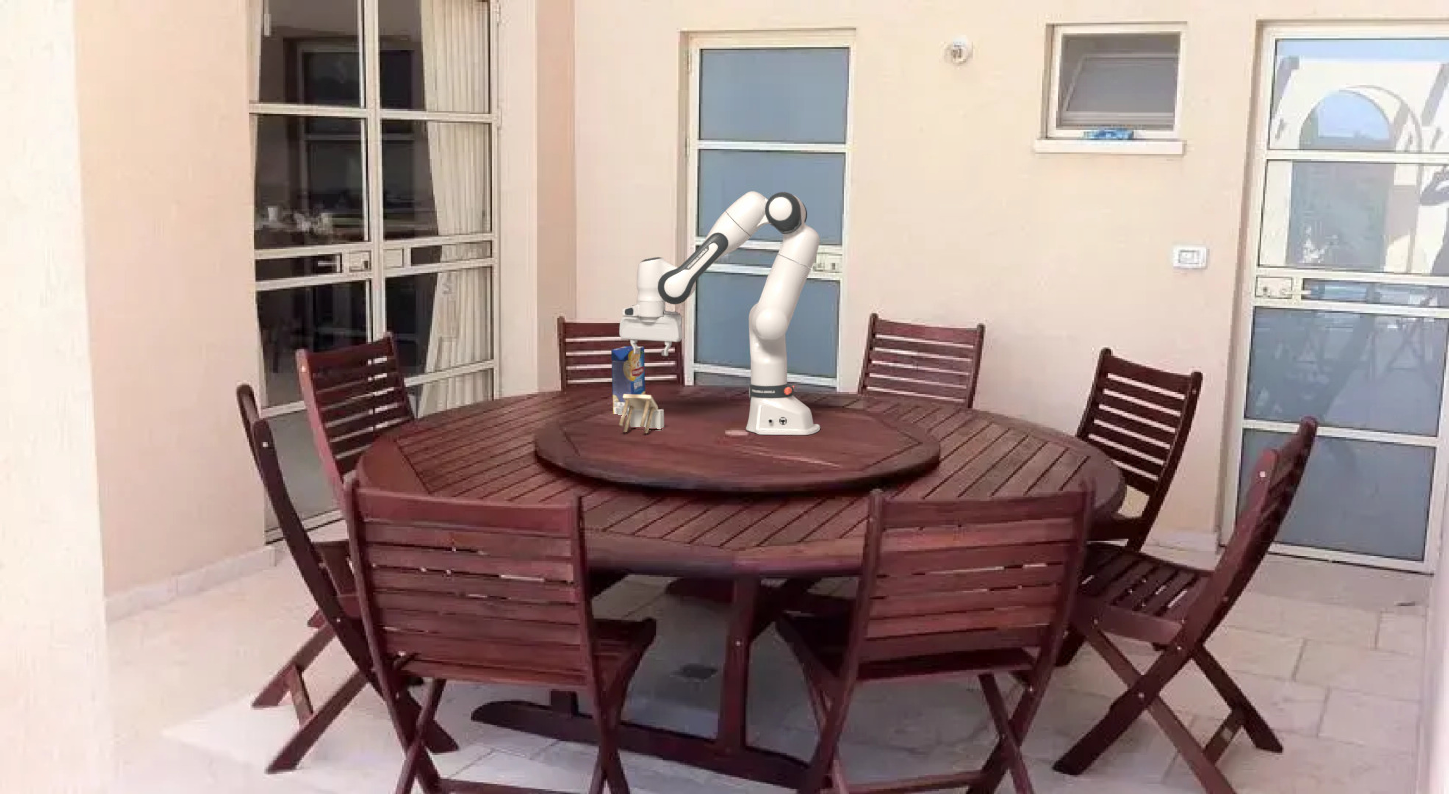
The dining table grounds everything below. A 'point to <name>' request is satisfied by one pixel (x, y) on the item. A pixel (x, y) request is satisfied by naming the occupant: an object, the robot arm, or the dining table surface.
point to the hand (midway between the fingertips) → (650, 354)
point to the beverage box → (626, 375)
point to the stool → (640, 404)
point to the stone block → (656, 419)
